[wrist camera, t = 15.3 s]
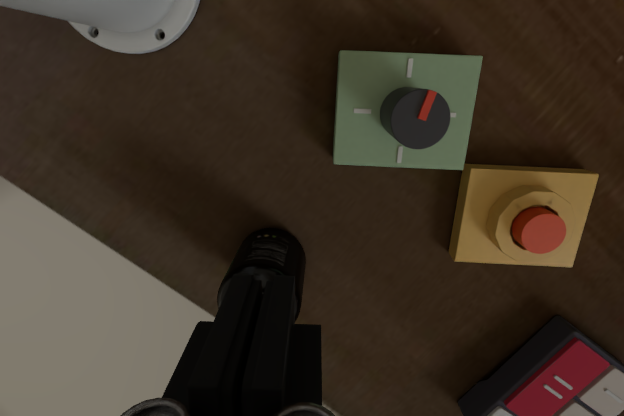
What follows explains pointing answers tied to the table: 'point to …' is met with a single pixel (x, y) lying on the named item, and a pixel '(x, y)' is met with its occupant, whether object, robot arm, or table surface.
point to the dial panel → (382, 81)
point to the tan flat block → (517, 212)
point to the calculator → (552, 379)
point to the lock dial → (415, 116)
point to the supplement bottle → (268, 261)
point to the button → (538, 230)
